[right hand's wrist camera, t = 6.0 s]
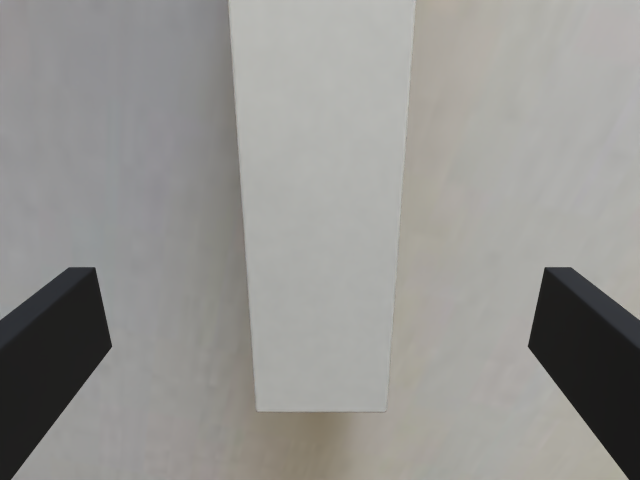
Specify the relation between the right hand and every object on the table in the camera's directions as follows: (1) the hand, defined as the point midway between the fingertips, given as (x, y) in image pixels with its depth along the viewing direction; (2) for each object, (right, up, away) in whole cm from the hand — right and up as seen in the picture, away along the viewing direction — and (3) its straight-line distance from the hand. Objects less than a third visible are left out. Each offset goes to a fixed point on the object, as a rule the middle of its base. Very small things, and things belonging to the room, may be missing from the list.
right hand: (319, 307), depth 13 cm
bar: (0, +9, +5) cm, 11 cm away
